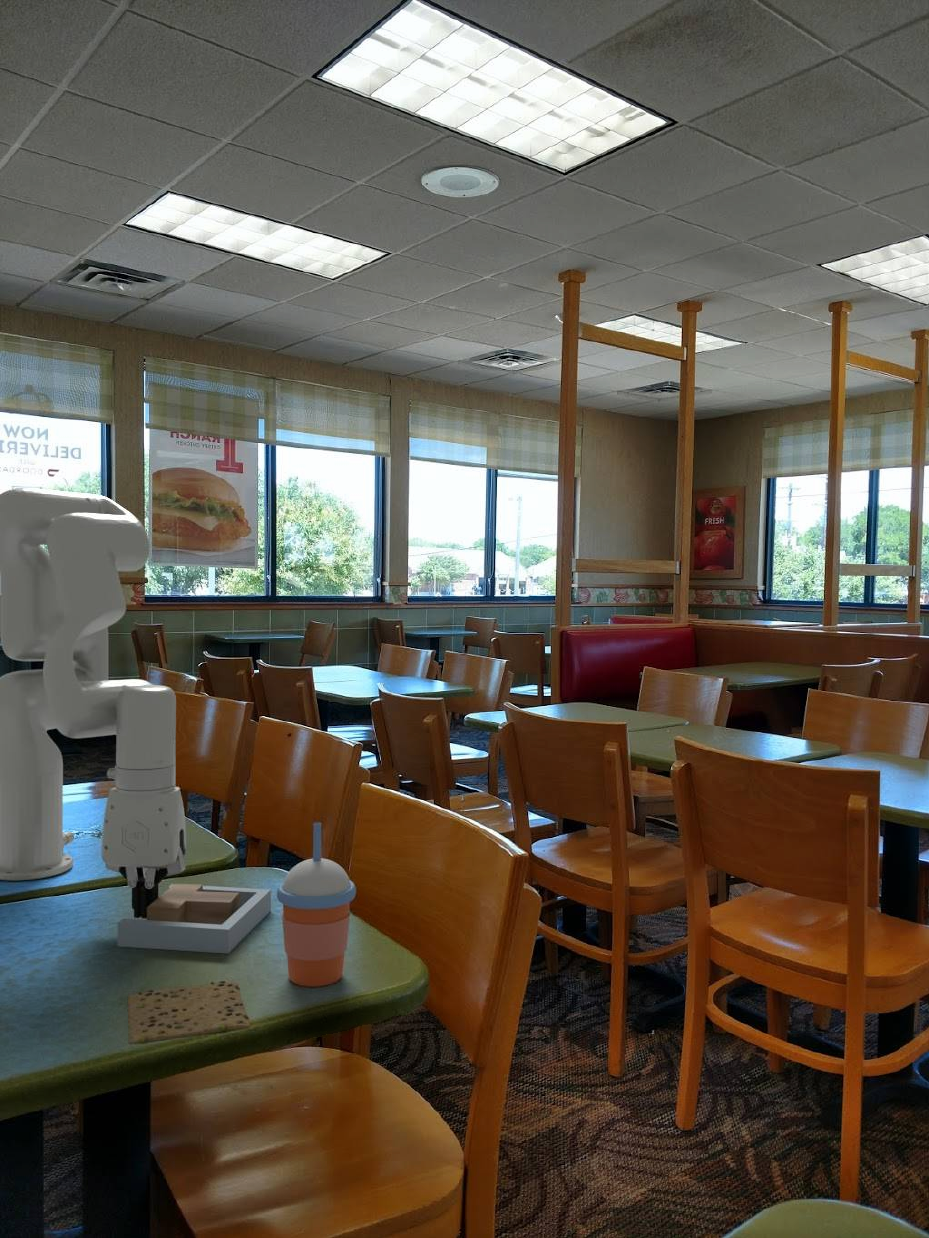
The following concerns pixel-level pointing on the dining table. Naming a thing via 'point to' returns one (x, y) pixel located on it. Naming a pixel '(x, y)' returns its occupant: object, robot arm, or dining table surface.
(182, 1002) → the cookie
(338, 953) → the cup with straw
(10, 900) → the dining table surface
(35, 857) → the robot arm
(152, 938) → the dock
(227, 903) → the t block
